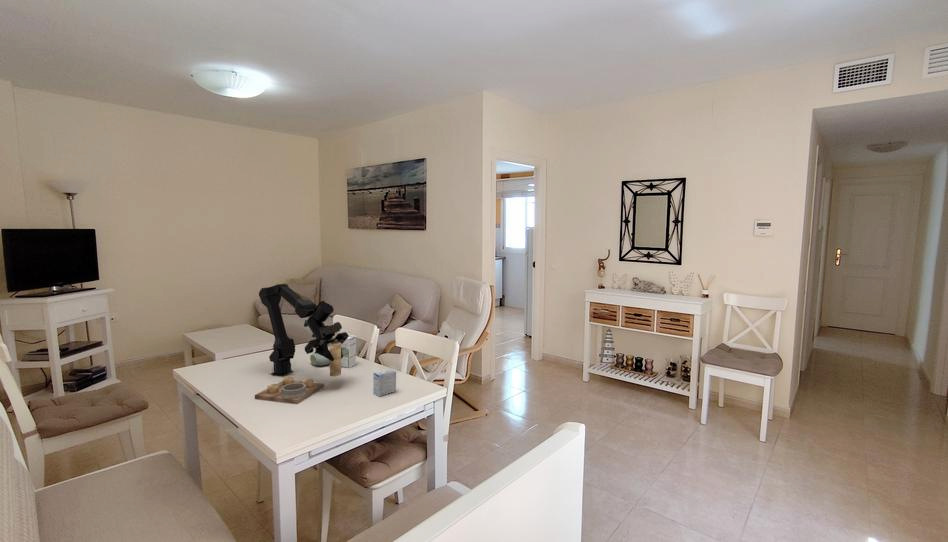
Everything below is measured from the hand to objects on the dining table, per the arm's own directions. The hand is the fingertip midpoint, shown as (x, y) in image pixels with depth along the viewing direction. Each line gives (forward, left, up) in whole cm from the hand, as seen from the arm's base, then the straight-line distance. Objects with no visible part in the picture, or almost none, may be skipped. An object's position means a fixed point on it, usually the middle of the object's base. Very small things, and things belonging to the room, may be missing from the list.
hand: (337, 359), depth 173 cm
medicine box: (+20, +1, -13) cm, 23 cm away
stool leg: (-1, 0, -7) cm, 7 cm away
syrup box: (-11, +28, -13) cm, 33 cm away
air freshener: (-24, +27, -13) cm, 39 cm away
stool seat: (-15, -9, -12) cm, 22 cm away
